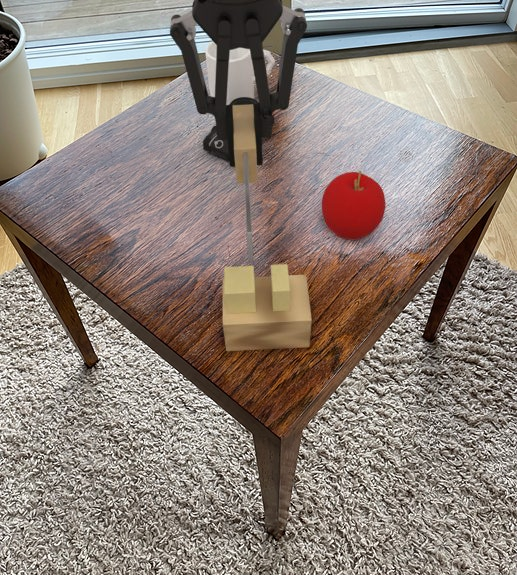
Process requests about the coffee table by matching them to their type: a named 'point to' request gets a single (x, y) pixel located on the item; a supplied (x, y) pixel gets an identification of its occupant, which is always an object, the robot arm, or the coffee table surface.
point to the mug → (235, 72)
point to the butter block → (239, 289)
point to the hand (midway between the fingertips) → (245, 158)
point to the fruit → (353, 205)
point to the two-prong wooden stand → (270, 319)
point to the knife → (245, 159)
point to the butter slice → (280, 287)
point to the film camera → (221, 146)
